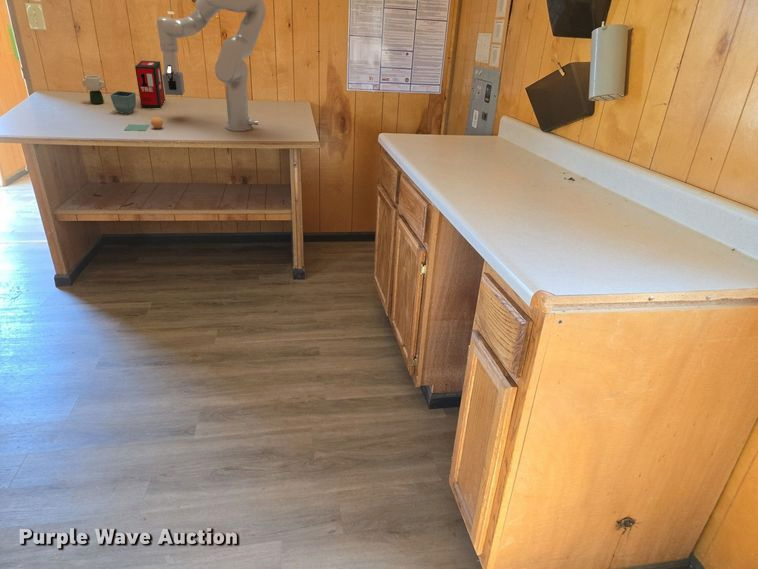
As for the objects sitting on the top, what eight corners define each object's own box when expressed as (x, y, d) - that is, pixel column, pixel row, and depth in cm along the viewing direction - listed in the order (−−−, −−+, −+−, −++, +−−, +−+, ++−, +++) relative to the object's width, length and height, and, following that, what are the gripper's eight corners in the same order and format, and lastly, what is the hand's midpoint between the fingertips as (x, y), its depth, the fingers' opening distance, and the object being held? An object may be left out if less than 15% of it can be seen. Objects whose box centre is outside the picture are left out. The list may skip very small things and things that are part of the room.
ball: (164, 126, 244) (162, 116, 242) (162, 130, 240) (161, 118, 237) (153, 126, 243) (151, 115, 241) (151, 129, 239) (149, 118, 237)
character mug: (111, 102, 273) (106, 76, 266) (104, 105, 267) (99, 78, 260) (90, 100, 273) (85, 74, 266) (83, 103, 267) (77, 76, 260)
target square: (149, 125, 245) (149, 124, 244) (145, 130, 237) (145, 130, 237) (128, 124, 243) (128, 124, 243) (124, 130, 235) (124, 129, 235)
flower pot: (131, 115, 256) (128, 96, 251) (113, 113, 256) (109, 94, 251) (138, 110, 263) (135, 92, 259) (121, 109, 263) (117, 90, 259)
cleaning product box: (160, 108, 270) (154, 67, 259) (141, 108, 268) (135, 66, 257) (165, 101, 283) (159, 61, 273) (147, 100, 282) (141, 60, 271)
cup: (184, 91, 254) (182, 72, 250) (182, 95, 248) (179, 75, 243) (168, 91, 253) (165, 71, 248) (165, 94, 247) (162, 74, 242)
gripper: (163, 44, 247) (169, 83, 256) (156, 50, 232) (162, 91, 241) (180, 45, 248) (185, 84, 257) (174, 51, 233) (180, 92, 243)
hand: (174, 87), depth 249 cm, fingers closed on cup, 7 cm apart
